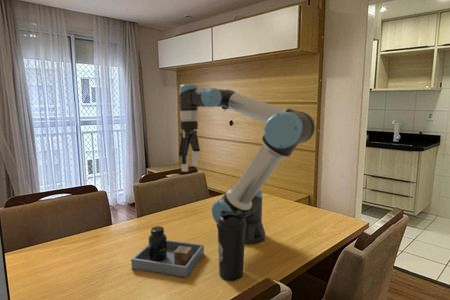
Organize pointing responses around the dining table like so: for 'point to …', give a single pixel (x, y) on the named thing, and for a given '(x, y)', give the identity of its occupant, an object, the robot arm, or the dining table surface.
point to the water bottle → (231, 244)
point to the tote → (168, 260)
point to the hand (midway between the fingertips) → (190, 168)
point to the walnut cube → (182, 255)
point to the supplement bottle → (157, 244)
